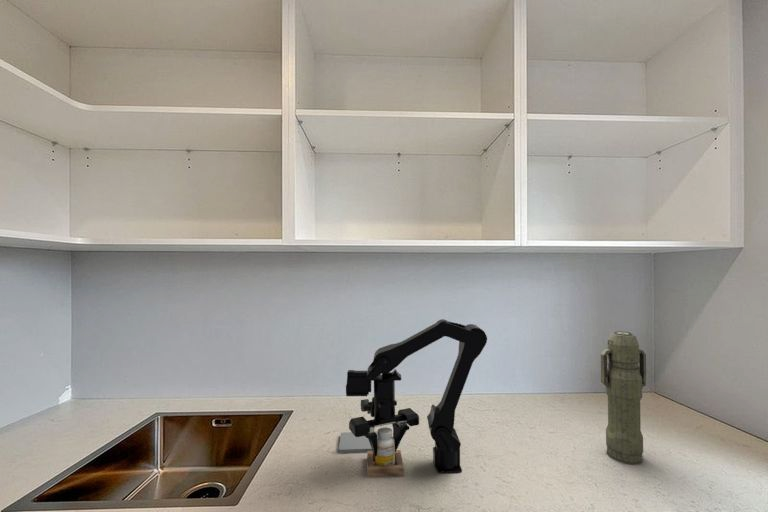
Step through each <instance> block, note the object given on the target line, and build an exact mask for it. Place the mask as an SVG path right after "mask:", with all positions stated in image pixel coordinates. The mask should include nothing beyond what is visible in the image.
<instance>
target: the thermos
mask: <svg viewBox="0 0 768 512" xmlns="http://www.w3.org/2000/svg"><path fill="white" fill-rule="evenodd" d="M609 334H610V335H609V337H608V339H607V348H605V349H604V348H603V350H602V352H601V353H600V382H601V384H603V385H604V386H605V394H606V395H607V423H608V424H607V426H606V428H605V445H606V448H607V449H606V455H607V456H608V457H609V458H611V459H612V460H614V461H616V462H618V463H622V464H626V465H631V466H632V465H633V466H634V465H641V464H642V463H643V459H644V458H643V453H644V436H643V433H642V431H641V430H642V429H641V428H642V427H641V424H642V423H641V400H642V398H643V389H644V387H646V386H647V385H646V384H647V354H646V353H645V351H644V350H643V349H641V348H640V344H639V341H638V338H637V336H636V334H633V332H628V331H621V330H618V331H617V330H615V331H613V332H610V333H609Z"/></svg>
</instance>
